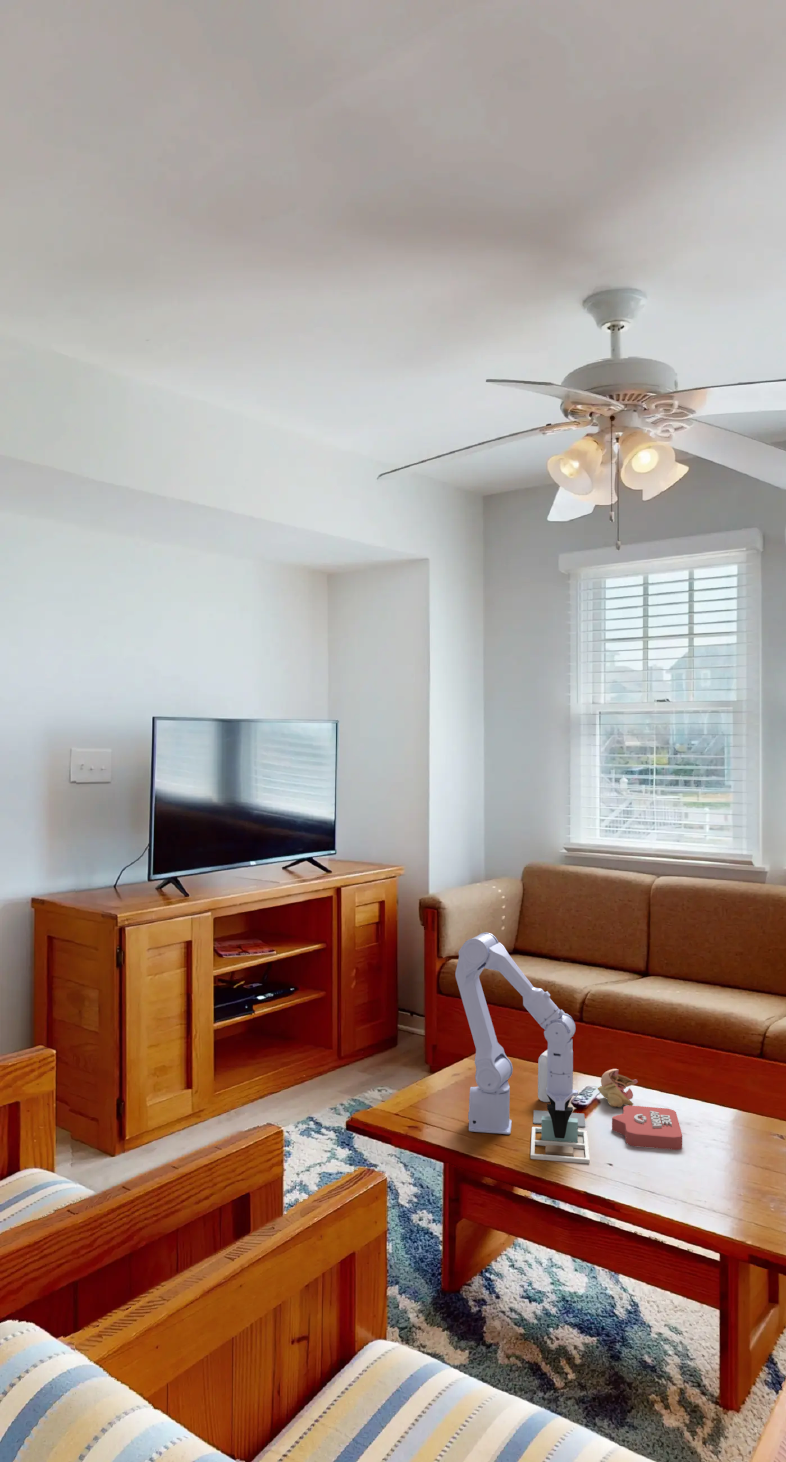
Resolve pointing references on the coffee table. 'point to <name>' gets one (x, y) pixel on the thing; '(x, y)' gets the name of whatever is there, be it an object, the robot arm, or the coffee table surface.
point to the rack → (560, 1158)
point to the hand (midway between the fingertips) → (559, 1131)
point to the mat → (538, 1116)
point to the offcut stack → (559, 1150)
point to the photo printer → (542, 1077)
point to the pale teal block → (570, 1131)
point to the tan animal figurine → (616, 1088)
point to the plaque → (649, 1127)
